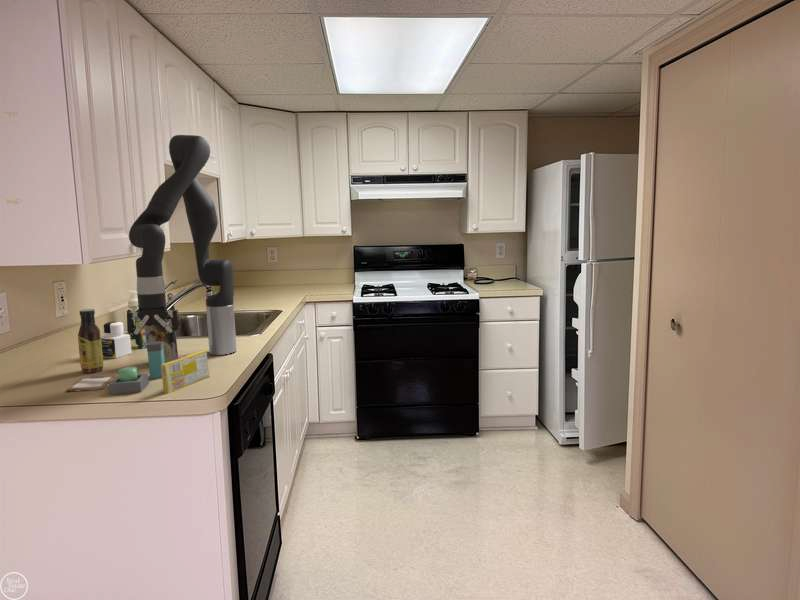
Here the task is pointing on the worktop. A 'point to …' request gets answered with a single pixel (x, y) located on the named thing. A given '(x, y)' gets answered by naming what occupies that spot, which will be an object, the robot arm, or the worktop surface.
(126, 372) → the button
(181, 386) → the candy box
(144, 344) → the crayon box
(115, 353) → the medicine bottle
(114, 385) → the button housing
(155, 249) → the robot arm
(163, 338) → the coffee box
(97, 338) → the sauce bottle
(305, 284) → the worktop surface
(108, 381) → the clipboard
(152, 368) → the teal and grey block
